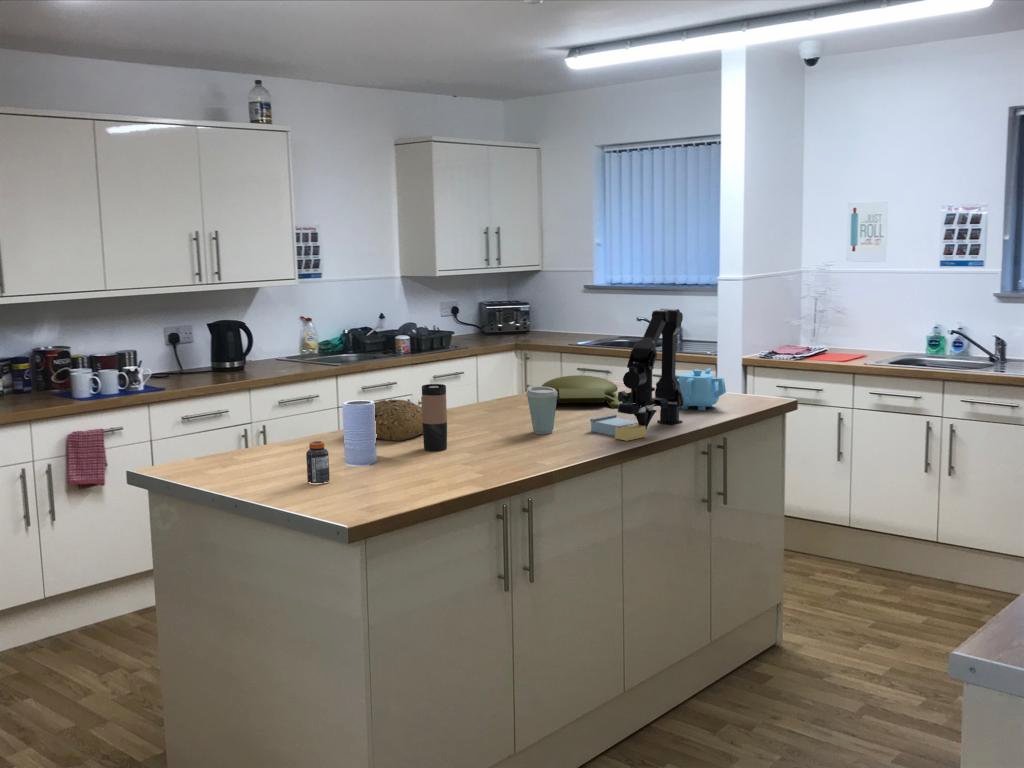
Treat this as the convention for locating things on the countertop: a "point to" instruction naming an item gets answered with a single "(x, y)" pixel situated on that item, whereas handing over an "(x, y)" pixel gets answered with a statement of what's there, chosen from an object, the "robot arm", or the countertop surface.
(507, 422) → the countertop surface
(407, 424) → the bread
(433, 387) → the travel mug
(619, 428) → the stub
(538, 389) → the disposable coffee cup
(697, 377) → the teapot
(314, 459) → the pill bottle
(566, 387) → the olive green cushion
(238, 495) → the countertop surface
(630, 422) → the ticket
